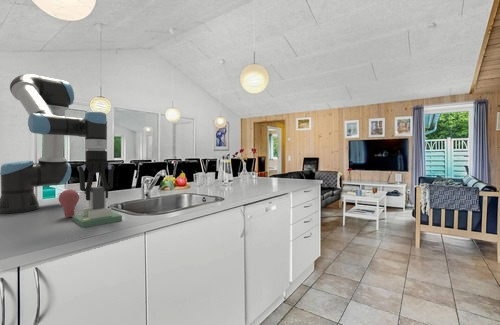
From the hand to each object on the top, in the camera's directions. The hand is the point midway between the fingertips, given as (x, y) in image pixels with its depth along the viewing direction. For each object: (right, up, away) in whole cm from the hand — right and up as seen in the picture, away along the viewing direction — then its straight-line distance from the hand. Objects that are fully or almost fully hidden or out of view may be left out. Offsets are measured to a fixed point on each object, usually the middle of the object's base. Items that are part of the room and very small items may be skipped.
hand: (97, 207), depth 105 cm
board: (0, -6, 0) cm, 6 cm away
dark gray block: (0, 0, 0) cm, 0 cm away
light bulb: (-15, -5, +5) cm, 16 cm away
